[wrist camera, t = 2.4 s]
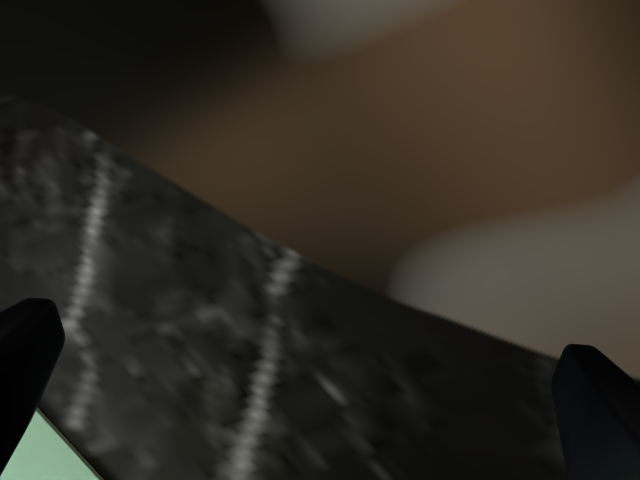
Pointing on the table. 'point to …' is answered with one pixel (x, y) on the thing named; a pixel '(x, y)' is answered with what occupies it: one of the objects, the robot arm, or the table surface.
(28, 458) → the green book
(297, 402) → the table surface
